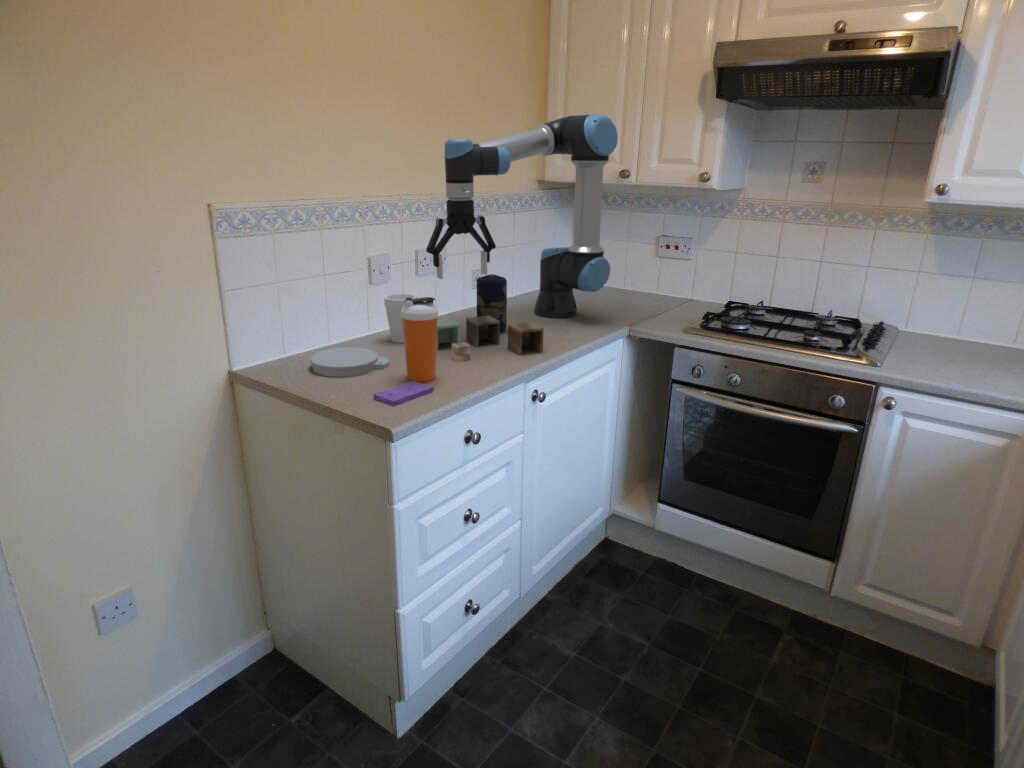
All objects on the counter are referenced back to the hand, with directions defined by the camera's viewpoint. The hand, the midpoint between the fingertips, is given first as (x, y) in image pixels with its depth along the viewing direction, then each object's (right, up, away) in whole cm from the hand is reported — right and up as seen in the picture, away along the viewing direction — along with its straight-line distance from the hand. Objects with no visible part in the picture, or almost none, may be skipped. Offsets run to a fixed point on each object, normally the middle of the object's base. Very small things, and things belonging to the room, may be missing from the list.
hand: (462, 276), depth 185 cm
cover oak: (+5, -18, +8) cm, 21 cm away
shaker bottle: (-9, -29, -23) cm, 38 cm away
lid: (-28, -27, -15) cm, 42 cm away
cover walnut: (+18, -21, +1) cm, 28 cm away
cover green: (-6, -20, +4) cm, 21 cm away
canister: (+8, -14, +21) cm, 26 cm away
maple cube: (0, -24, -7) cm, 25 cm away
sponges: (-11, -34, -35) cm, 50 cm away
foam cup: (-19, -18, +9) cm, 27 cm away
